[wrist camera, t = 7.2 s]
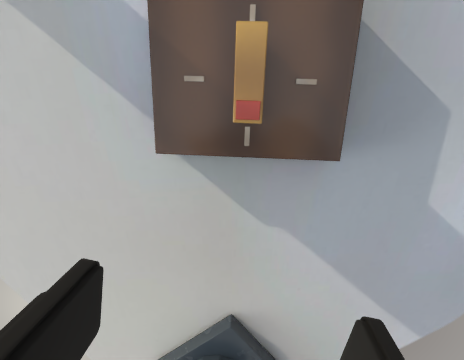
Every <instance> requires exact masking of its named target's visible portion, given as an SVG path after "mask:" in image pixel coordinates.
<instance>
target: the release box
mask: <svg viewBox="0 0 464 360" xmlns="http://www.w3.org/2000/svg"><path fill="white" fill-rule="evenodd" d="M159 360H275V359H274V358H273V357H272V356H271V355H270V354H269V353H268V352H267V351H266V350H265V349H264V348H263V346H262V345H261V344H260V343H259V342H258V341H257V340H256V339H255V338H254V337H253V336H252V335H251V334H250V333H249V332H248V331H247V330H246V329H245V328H244V327H243V326H242V325H241V324H240V323H239V321H238V320H237V319H236V318H235V317H234V316H233V315H232V314H231V315H229V316H228V317H226V318H225V319H223V320H221V321H220V322H218V323H217V324H215V325H213V326H212V327H210V328H209V329H207V330H205V331H204V332H202V333H200V334H199V335H197V336H196V337H194V338H192V339H191V340H189V341H188V342H186V343H184V344H183V345H181V346H180V347H178V348H176V349H175V350H173V351H172V352H170V353H168V354H167V355H165V356H163V357H162V358H160V359H159Z"/></svg>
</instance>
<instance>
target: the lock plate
mask: <svg viewBox="0 0 464 360" xmlns="http://www.w3.org/2000/svg"><path fill="white" fill-rule="evenodd" d="M147 1H148V20H149V38H150V57H151V76H152V94H153V113H154V132H155V150H156V153H157V154H181V155H205V156H229V157H253V158H277V159H301V160H325V161H340V157H341V150H342V143H343V136H344V130H345V123H346V116H347V109H348V103H349V96H350V89H351V82H352V76H353V69H354V62H355V55H356V49H357V42H358V35H359V28H360V22H361V15H362V8H363V1H364V0H147ZM237 21H267V22H268V37H267V52H266V67H265V83H264V98H263V114H262V123H261V124H255V123H234V122H233V104H234V74H235V45H236V22H237Z"/></svg>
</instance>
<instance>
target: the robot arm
mask: <svg viewBox="0 0 464 360" xmlns="http://www.w3.org/2000/svg"><path fill="white" fill-rule="evenodd" d="M102 285H103V267H101V266H100V264H99V262H98V261H93V260H88V259H81V260H79V261H78V262H77V263H76V264H75V265H74V266H73V267H72V268H71V269H70V270H69V271H68V272H67V273H65V274H64V275H63V276H62V277H61V278H60V279H59V280H58V281H57V282H56V283H55V284H54V285H53V286H52V287H51V288H50V289H49V290H48V291H47V292H43V293H41V294H40V295H38V296H37V297H36V298H35V299H34V300H33V301H31V302H30V303H29V304H28V305H27V306H26V307H25V308H24V309H23V310H22V311H21V312H20V313H19V314H18V315H16V316H15V317H14V318H13V319H12V320H11V321H10V322H9V323H8V324H7V325H6V326H5V327H4V328H3V329H2V330H0V360H80V359H81V358H82V356H83V355H84V353H85V352H86V350H87V349H88V347H89V346H90V344H91V343H92V341H93V339H94V338H95V336H96V335H97V333H98V330H99V327H100V319H101V302H102ZM340 360H404V357H403V356H402V354H401V352H400V351H399V349H398V347H397V346H396V344H395V342H394V340H393V339H392V337H391V335H390V334H389V332H388V330H387V329H386V327H385V325H384V323H383V322H382V321H381V320H379V319H374V318H369V317H362V318H361V319H360V320H357V321H356V322H355V325H354V327H353V329H352V332H351V334H350V337H349V339H348V342H347V344H346V346H345V349H344V351H343V354H342V356H341V359H340Z"/></svg>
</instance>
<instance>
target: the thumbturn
mask: <svg viewBox="0 0 464 360" xmlns="http://www.w3.org/2000/svg"><path fill="white" fill-rule="evenodd" d="M267 37H268V22H267V21H237V22H236V45H235V74H234V104H233V122H234V123H255V124H261V123H262V114H263V98H264V83H265V67H266V52H267Z"/></svg>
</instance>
